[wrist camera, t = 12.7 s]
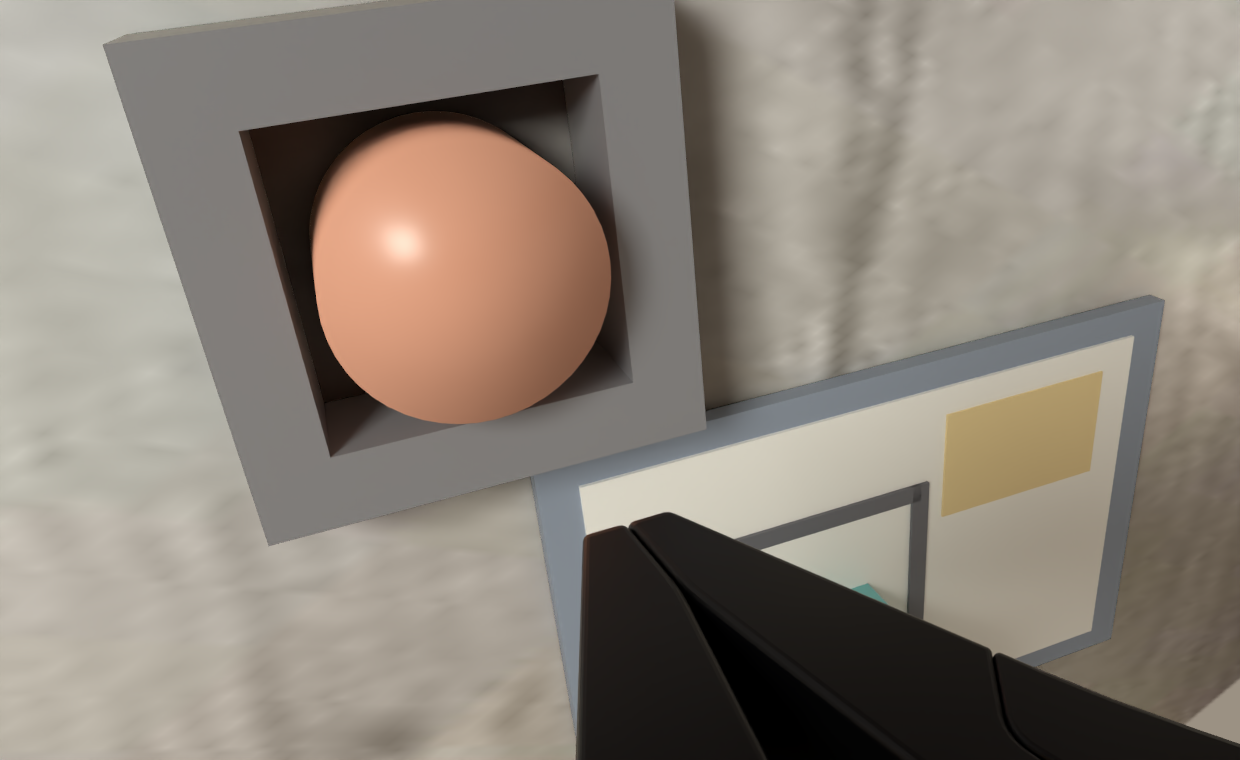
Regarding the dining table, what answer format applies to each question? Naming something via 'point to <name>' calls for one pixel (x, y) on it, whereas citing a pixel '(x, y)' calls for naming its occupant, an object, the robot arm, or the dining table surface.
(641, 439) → the button housing
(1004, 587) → the drawing board
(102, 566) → the dining table surface
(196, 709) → the dining table surface
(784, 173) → the dining table surface
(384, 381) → the button
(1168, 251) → the dining table surface
